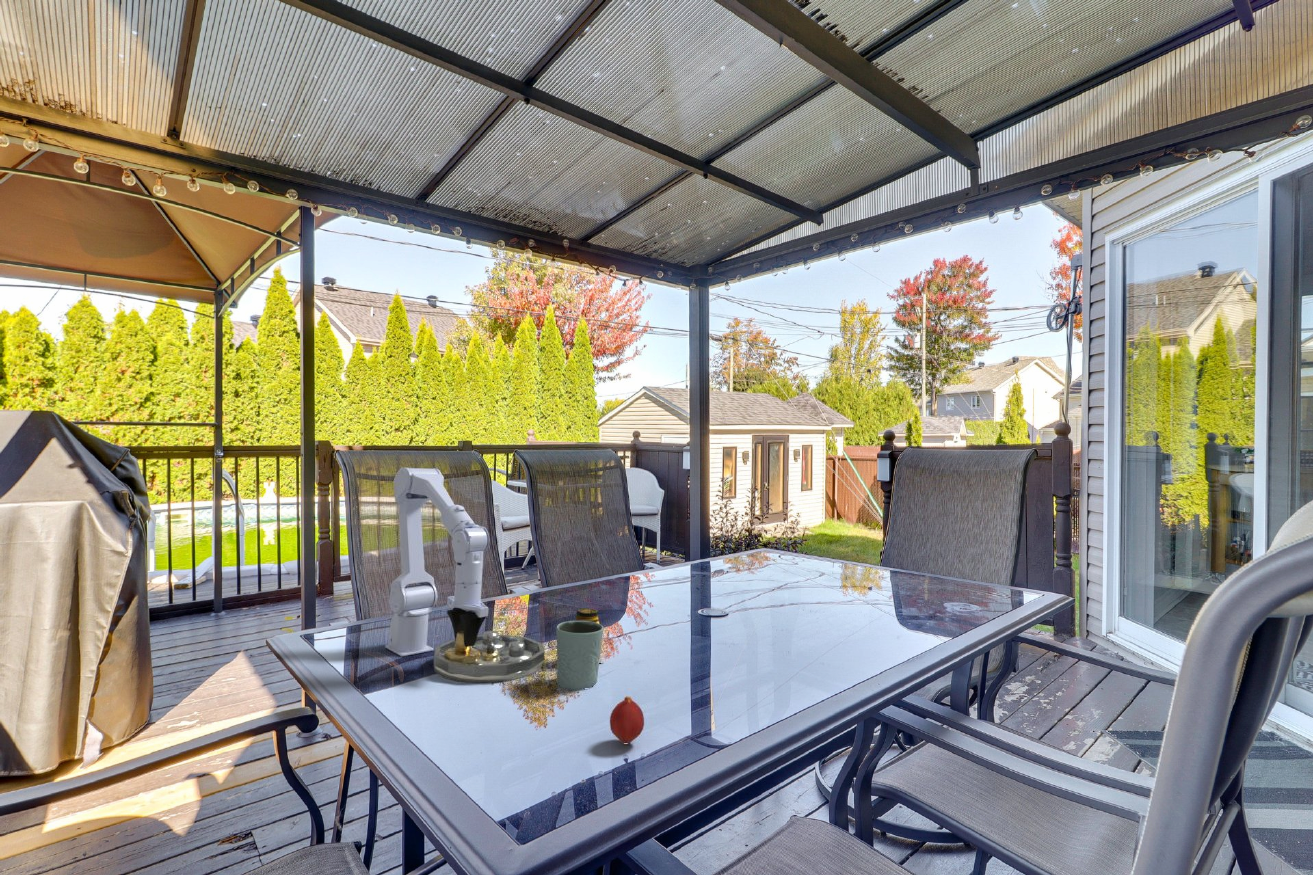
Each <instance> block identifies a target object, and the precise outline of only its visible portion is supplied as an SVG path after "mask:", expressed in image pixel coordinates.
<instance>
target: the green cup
mask: <svg viewBox="0 0 1313 875" xmlns="http://www.w3.org/2000/svg"><path fill="white" fill-rule="evenodd" d="M555 627H556V656H557V657H556V667H557V668H556V672H557V674H556V684H557V686H558V687H560V688H562V689H566V690H569V691H570V690H572V691H583V690H586V689H585V688H589V689H591V688H590V687H592V686H594V685H595V684H596V683H597V682H598V675H599V674H598V673H599V669H600V668H599V667H600V664H599V660H600V658H601V652H602V642H603V634H604V626H603V625H602V623H601V624H600V622H599V623H595V622H590V621H576V620H569V621H563V622H560V623H559V624H557V626H555ZM597 684H598V683H597ZM597 684H596V685H597ZM596 685H595V686H596ZM595 686H594V687H595ZM592 688H593V687H592ZM582 689H583V690H582Z"/></svg>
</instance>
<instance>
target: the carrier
mask: <svg viewBox="0 0 1313 875" xmlns="http://www.w3.org/2000/svg"><path fill="white" fill-rule="evenodd" d="M455 646H456V641H455V638H454V639H451V640H449V641H448V640H447V641H446V642H444V643H441V644H440V645H437V646H436V647H435V650H434V654H433V666H434V667H433V671H434V672H435V674H437V675H438V676H439V677H442V678H445V679H447V680H451V681H455V682H456V681H457V682H461V683H462V682H463V683H472V684H473V683H474V684H476V683H478V684H486V683H487V684H490V683H491V684H493V683H503V682H509V681H514V680H518V679H519V680H520V679H522V678H526V677H528V676H531V675H534V674H536V673H537V672H539V671H540V670H541V669H542V668H543V665H544V661H545V657H546V656H545V655H546V654H545V652H546V650H545V648H544V645H543V643H542V642H539V641H538V640H537V641H536V640H535V639H532V638H529V637H526V636H517V635H508V634H499V631H495V630H486V631H484V632H483V633H482V635H481V634H480V635H479V634H478V635H477V639H476V642H475V645H474V646H471V648H473V649H476V650H478V651H480V659H479V660H477V661H476V662H471V663H459V662H452V661H450V660H448V659H446V658H444V655H445V651H447V650H448V649H450V648H455Z"/></svg>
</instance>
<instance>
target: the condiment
mask: <svg viewBox="0 0 1313 875" xmlns="http://www.w3.org/2000/svg"><path fill="white" fill-rule="evenodd" d="M575 621H590V622H595V623H599V624H600V621H599V611H598V610H597V609H595V608H586V607H585V608H580V609H577V611H576V616H575Z"/></svg>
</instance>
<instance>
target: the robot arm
mask: <svg viewBox="0 0 1313 875" xmlns="http://www.w3.org/2000/svg"><path fill="white" fill-rule="evenodd" d="M444 481H445V478H444V475H443V474H442V473H441V470H440V469H438V468H437V467H436V468H419V467H417V468H416V467H415V468H414V467H404V466H403V467H401V468H399V469H398V471H397V473H396V474H395V476H394V477H393V490H394V502H395V503H396V504H397V506H398V508H397V509H398V510H397V511H398V524H399V525H398V526H399V527H398V528H399V529H398V530H399V545H400V546H399V547H400V562H401V564H400V565H401V574H399V576H398V577H396V578H395V579H394V580H393V581H392V582H391V584H390V594H389V600H388V603H389V606H390V609H391V611H392V612H393V616H392V618H391V619H390V626H389V642H388V644H386V645H385V648H386V649H387V650H390V651H391V652H392V653H395V654H396V655H399V656H400V657H406V656H411V655H417V654H421V653H422V654H423V653H427V652H432V651H434V648H433V647H431V646H430V645H428V643H427V642H428V630H429V629H428V628H429V613H432V610H433V608H434V607H435V606H436V604H437V601H438V590H437V588H436V585H435V579H434V577H433V576H432V575H431V574H429V573H428V572H427V571H426V569H425V556H424V554H425V553H424V540H423V524H422V523H423V522H422V521H423V520H422V507H423V505H424V504H425V503H427V502H429V501H430V502H431V503H432V504H433V506H435V508H436V509H437V510H438V511H439V512H440V516H439V519H440V522H441V524H442V525H443V527H444V529H446V531H447V532H448V534H449V535H450V537H451V538H452V539H451V547H452V551H453V559H454V562H456V563H455V565H456V566H455V577H454V578H455V580H454V592H453V593H454V595H452V596H451V595H450V596H447V602H446V604H447V605H446V606H448V607H449V608H451V609H448V610H447V611H446V612H447V616H448V617H449V620H450V622H451V624H452V628H453V630H452V631H453V635H454V639H455V641H456V637H457V632H462V631H463V632H464V645H465V647H469V646H474V645H475V642H476V639H477V635H479V633H480V629H481V627H482V625H483V623H484V621H485V620H486V618H487V617H489V607H488V606H486V605H485V603H484V602H483V601H482V587H483V582H482V581H483V568H484V553H485V552H486V551H488V549H489V546H490V543H491V542H490V541H491V539H490V534H489V532H488V530H487V528H486V527H485V526H480V525H479V524H475V522H474V521H473V519H472V518H471V517H470V515H469V514H468V512H467V511H466V508H465V507H464V506H463V505H460V504H454V503H455V502H454V501H453V499H452V498H451V496H450V494H449V493H448V490H447V489H446V488H445V486H444V483H445V482H444ZM411 584H412V585H411ZM413 584H415V585H413ZM408 585H409V586H408Z"/></svg>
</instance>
